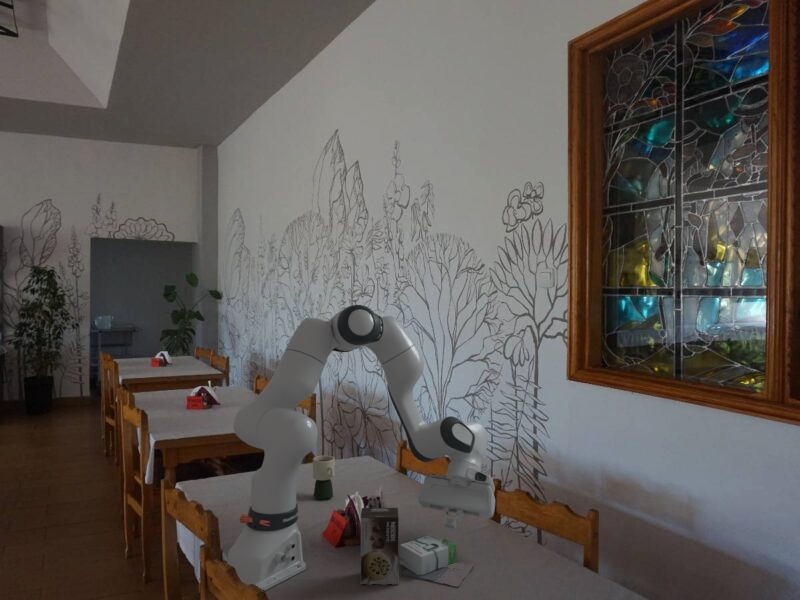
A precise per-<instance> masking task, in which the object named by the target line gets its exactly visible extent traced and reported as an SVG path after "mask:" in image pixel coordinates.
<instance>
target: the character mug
mask: <svg viewBox="0 0 800 600" xmlns="http://www.w3.org/2000/svg"><path fill="white" fill-rule="evenodd" d="M335 462H336V459H335V457H334V456H332V455H317V456H314V457H312V478H313V479H314V480H316V481H315V484H314V491H313V498H315V499H318V500H321V499H324V500H327V499H332V498H333V497H334V493H333V490H334V489H333V484H332V483H333V482H332V479H333V478H334V477H335V475H336V473H335V465H336V463H335Z"/></svg>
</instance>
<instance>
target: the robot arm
mask: <svg viewBox="0 0 800 600" xmlns="http://www.w3.org/2000/svg"><path fill="white" fill-rule="evenodd" d="M362 347H366V348H367V349H368V350H370V351H371V352H372V353H373V354H374V356H376V359H377V360H378V362H379V364H380V366H381V367H382V370H383V372H384V375H385V377H386V381H387V384H386V385H387V386H386V387H387V392H388V395H389V398H390V400H391V402H392V405H393V408H394V410H395V412H396V414H397V417H398V418H399V421H400V423H401V425H402V427H403V430H404V432H405V435H406V439H407V443H408V447H409V449H410V451H411V452H410V453H412V455H413V457H415V458H416V459H417V460H419V461H420V462H423V463H431V462H433V461H435V460H437V459H439V458H442V457H445V456H447V457H449V459H450V461H449V464H448V467H447V471H446V473H445V475H443V474H436V473H430V474H429V475H427V476H425V477H424V480H423V484H422V487H421V489H420V491H419V493H418V496H417V500H418V503H419V504H420V507H422V508H426V509H432V510H437V511H442V513H443V517H444V521H443V527H444V528H449V529H453V530H456V529H457V525H458V523H459V522H460V521H462V519H464V515H465V516H466V515H467V516H472V517H478V518H484V519H492V517H493V516H494V515H495V514H494V513H495V507H496V498H495V490H496V487H495V483H494V480H493V479H492V477H491V476H490V475H488V474H486V473H484V472H482V464H483V463H484V461H485V457H486V453H487V449H488V448H487V447H488V439H489V438H488V431H487V430H486V428H485V427H484V426H483V425H482V424H480V423H478V422H476V421H471V420H470V421H469V420H468V421H463V420H461V419H459V418H457V417H455V416H446V417H444V418H443V417H442V418H440V419H437V420H435V421H433V422H430V423H426V422H425V421H424V419H423V417H422V415H421V413H420V410H419V408H418V406H417V403H416V401H415V399H414V388H415V386H416V384H417V383H418V381H419V380H420V378H421V376H422V374H423V372H424V369H425V368H424V367H425V361H424V358H423V355H422V353H421V350H420V349H419V347H418V346H417V345H416V343H415V340H414V339H413V338H412V336H411V335H410V333H409V332H408V331H407V330H406V328H405V327H404V326H403V325H402V324H401V323H400V321H399V320H398V319H397V318H396V317H394V316H390V315H386V316H380V315H379V314H377V313H375V312H374V311H373V310H372V309H371V308H369V307H367V306H365V305H362V304H354V305H353V304H352V305H349V306H347V307H345V308H344V309H343V310H340V311H339V312H337V313H335V315H333V316H332V317H331V318H330V319H329V320H328V321H327V320H323V319H320V318H318V317H309V318H305V319H304V320H302V321H301V322H300V324H299V325H298V326H297V328H296V330H295V331H294V333H293V334H292V336H291V338H290V339H289V341H288V344H287V346H286V347H285V350H284V352H283V354H282V356H281V359H280V361H279V363H278V365H277V367H276V370H275V371H274V373H273V376H271V379H270V381H269V382H268V383H267V385H266V386H265V387H264V388H263V389H262V391H261V392H260V393H259V394H258V395H257V397H255V398H254V399H253V400H252V401H251V402H249V403H247V404H246V405H244V406H243V407H240V409H239V410H238V411H237V413H236V414H235V418H234V420H233V430H234V434H235V435H236V437H238V439H240V440H241V441H242V442H244V443H245V444H247V445H249V446H251V447H253V448H257V449H260V450H263V451H264V457H263V462H262V464H261V467H260V468H258V469H256V471H254V473H253V474H252V477H251V481H250V482H251V483H250V485H251V491H250V493H251V495H250V497H251V498H250V499H251V501H250V504H251V505H250V507H249V509H248V512H247V514H243V513H242V514H241V515H240V516H239V519H238V521H239V523H240V524H246V525H245V527H244V528H243V530H242V531H241V532H240V535H239V536H238V537H237V539H236V541H235V542H234V543H233V544H232V547H230V549H229V550H228V553H227V557H226V564H227V563H228V564H229V565H231V566H233V567H234V568H235V569H236V571H237V573H238V575H239V577H240V578H241V579H242V580H243V581H244V582H245V583H248V584H254V585H256V586H258V587H259V588H261V589H262V590H264V591H263V592H266V591H267V590H268V589H271V588H273V587H275V586H276V585H279V584H280V583H282V582H284V581H286V580H288V579H289V578H291V577H293V576H295V575H298V574H299V573H301V572H303V571H305V570H306V569H307V563H306V562H305V561H304V558H303V546H302V543H303V542H302V536H301V535H302V534H301V532H300V529H299V527H298V523H297V521H298V519H299V507H298V504H297V488H298V487H297V485H298V477H299V476H298V475H299V471H300V468H301V464H302V462H303V460H304V458H305V457H307V456H308V454H310V453H311V452H312V451H313V449H314V448H315V447H316V445H317V441H318V437H319V436H318V434H319V431H318V426H317V424H316V422H315V421H314V419H312V418H311V417H309V416H308V415H305V414H303V413H302V412H301V411H297V410H295V409H296V408H297V406H298V405H300V403H301V402H303V401H304V400H306V399H308V398H310V397H312V396H313V394H314V392H315V391H316V389H317V385H319V381H320V378H321V376H322V373H323V372H324V369H325V366H326V363H327V361H328V358H329V356H330V354H331V353H332V351H333V352H338V353H348V352H352V351H354V350H358V349H361V348H362ZM451 513H455V514H456V516H455V517H454V518H449V516H450V515H451Z"/></svg>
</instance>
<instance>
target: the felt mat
mask: <svg viewBox="0 0 800 600" xmlns="http://www.w3.org/2000/svg"><path fill="white" fill-rule="evenodd" d="M443 569H444V570H443ZM447 569H449V568H448V567H445V568H444V567H442V568H440V569H437V570H434V571H431V572H429V573H426V574H423V575H417V574H416V573H414V572H413V571H411V570H409V569H408V568H406V570H405V571H404V572H403V574H402V576H404V575H405V576H404V577H409V576H410V577H409V578H413V577H415V578H414V579H417V578H421V579H420V580H422V579H426V580H431V581H437V580H439V579H438V578H442V577H441V576H442V574H444V573H445V572H446V571H448V570H447ZM453 569H455V568H453ZM450 570H451V569H450ZM456 570H458V569H456ZM460 570H461V569H460ZM442 571H443V572H442ZM452 571H454V570H452ZM449 572H450V571H449ZM459 572H460V571H459ZM440 573H441V574H440ZM438 575H440V576H438ZM443 577H445V576H443ZM426 580H425V581H426ZM431 581H430V582H431ZM440 581H442V580H440ZM438 582H439V581H438Z"/></svg>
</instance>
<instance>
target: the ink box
mask: <svg viewBox="0 0 800 600" xmlns="http://www.w3.org/2000/svg"><path fill="white" fill-rule="evenodd" d="M456 561H457V544H456V543H454V542H452V541H450V540H447V539H446V538H443V537H442V536H440V535H438V534H436V533H432V534H429V535H426V536H423V537H420V538H417V539H414V540H411V541H408V542H405V543H401V544H399V564H400V565H401V566H403V567H405V568H406V569H409V570H411V571H413V572H414V573H416V574H417V575H423V574H426V573H429V572H431V571H434V570H437V569H440V568H442V567H445V566H448V565H450V564H453V563H456Z"/></svg>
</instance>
